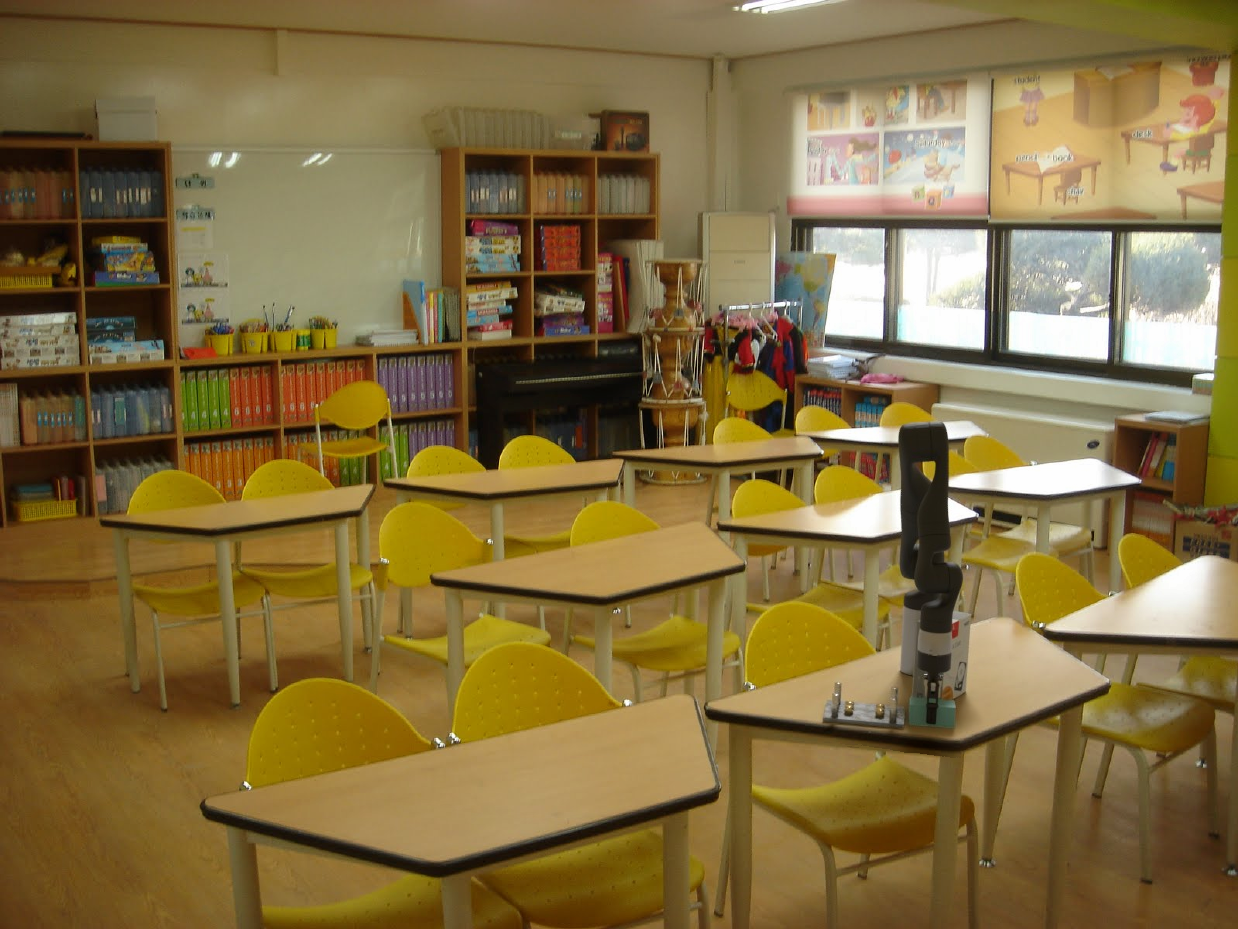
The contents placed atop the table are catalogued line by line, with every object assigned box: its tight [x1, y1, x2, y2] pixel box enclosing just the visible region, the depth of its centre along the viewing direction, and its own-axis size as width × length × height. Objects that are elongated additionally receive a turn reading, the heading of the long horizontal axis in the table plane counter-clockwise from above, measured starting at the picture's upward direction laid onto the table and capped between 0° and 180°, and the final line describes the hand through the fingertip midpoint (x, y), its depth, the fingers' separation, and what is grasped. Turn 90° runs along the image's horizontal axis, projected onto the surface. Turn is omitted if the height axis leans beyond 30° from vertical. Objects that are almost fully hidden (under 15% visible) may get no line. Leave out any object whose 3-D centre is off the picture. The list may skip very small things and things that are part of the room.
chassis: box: [822, 681, 906, 730], centre depth 301 cm, size 12×18×6 cm, turn 77°
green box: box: [908, 696, 957, 729], centre depth 297 cm, size 5×10×5 cm, turn 79°
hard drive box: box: [911, 610, 972, 700], centre depth 313 cm, size 16×8×20 cm, turn 143°
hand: (930, 717), depth 298 cm, fingers open, 7 cm apart
